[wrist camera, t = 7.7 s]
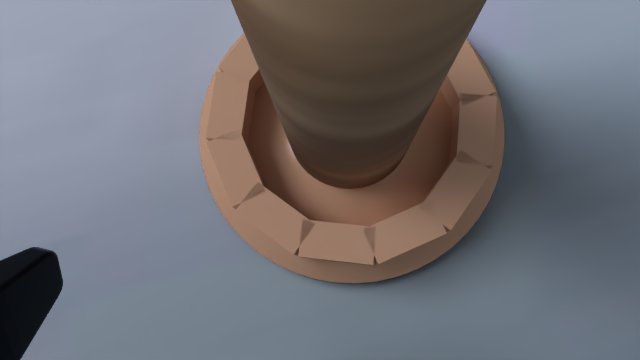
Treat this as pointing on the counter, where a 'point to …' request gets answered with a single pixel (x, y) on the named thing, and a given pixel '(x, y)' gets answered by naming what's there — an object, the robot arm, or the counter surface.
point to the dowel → (354, 76)
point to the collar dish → (359, 203)
